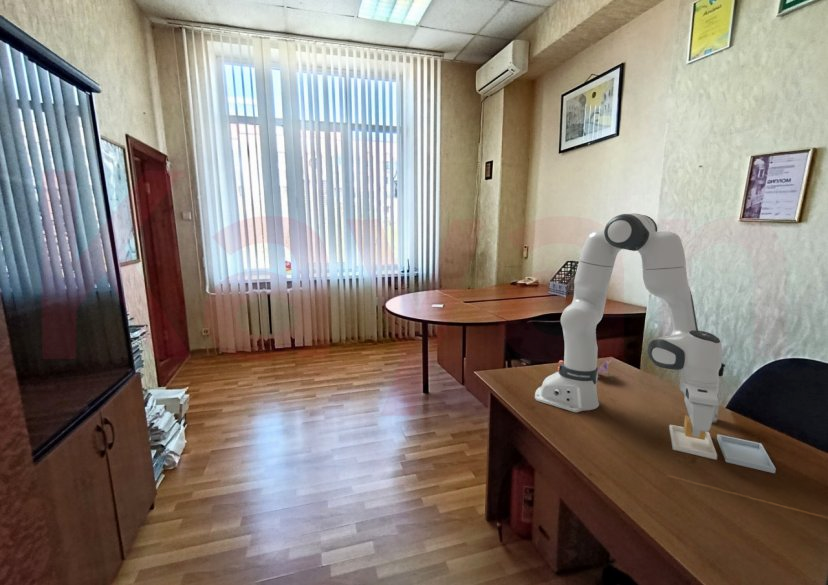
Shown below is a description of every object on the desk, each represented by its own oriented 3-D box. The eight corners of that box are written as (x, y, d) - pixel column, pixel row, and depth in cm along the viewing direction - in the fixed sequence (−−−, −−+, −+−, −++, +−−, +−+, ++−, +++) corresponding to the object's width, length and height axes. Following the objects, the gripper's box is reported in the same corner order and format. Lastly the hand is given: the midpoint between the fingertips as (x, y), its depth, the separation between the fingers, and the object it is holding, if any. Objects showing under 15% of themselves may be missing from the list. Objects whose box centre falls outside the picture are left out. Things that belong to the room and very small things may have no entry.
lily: (612, 375, 164) (601, 355, 165) (630, 375, 152) (618, 353, 154) (590, 386, 161) (579, 366, 163) (607, 387, 150) (595, 365, 151)
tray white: (672, 450, 107) (673, 445, 107) (669, 429, 118) (669, 424, 118) (716, 461, 102) (717, 455, 102) (708, 437, 113) (709, 432, 113)
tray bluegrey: (725, 463, 101) (726, 457, 101) (716, 439, 112) (717, 434, 112) (774, 474, 96) (775, 468, 96) (760, 448, 107) (761, 443, 107)
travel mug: (722, 425, 120) (730, 367, 116) (699, 423, 121) (706, 366, 118) (711, 415, 126) (718, 360, 122) (689, 414, 127) (696, 359, 124)
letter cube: (685, 436, 109) (687, 421, 108) (683, 428, 112) (685, 414, 112) (704, 440, 106) (706, 425, 106) (702, 432, 110) (703, 418, 109)
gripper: (681, 372, 117) (677, 412, 120) (690, 398, 100) (685, 444, 102) (706, 375, 114) (701, 416, 116) (719, 403, 97) (714, 451, 99)
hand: (694, 430), depth 109 cm, fingers closed on letter cube, 4 cm apart
